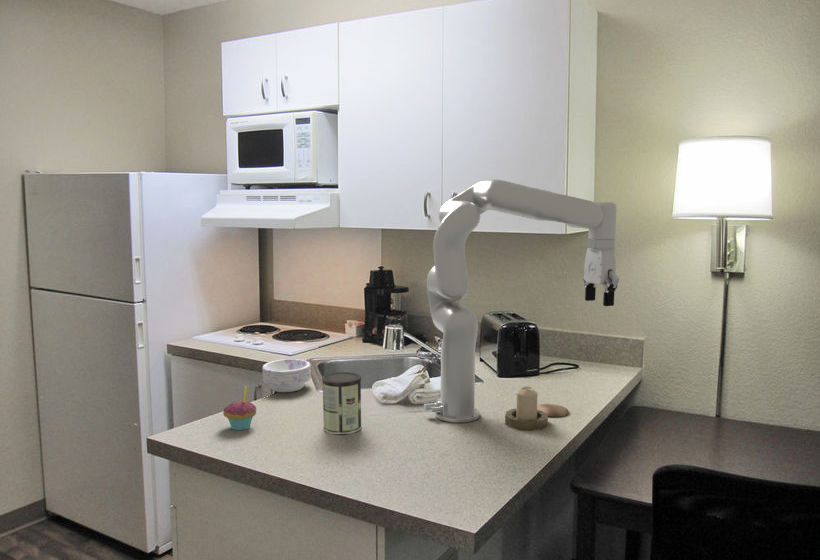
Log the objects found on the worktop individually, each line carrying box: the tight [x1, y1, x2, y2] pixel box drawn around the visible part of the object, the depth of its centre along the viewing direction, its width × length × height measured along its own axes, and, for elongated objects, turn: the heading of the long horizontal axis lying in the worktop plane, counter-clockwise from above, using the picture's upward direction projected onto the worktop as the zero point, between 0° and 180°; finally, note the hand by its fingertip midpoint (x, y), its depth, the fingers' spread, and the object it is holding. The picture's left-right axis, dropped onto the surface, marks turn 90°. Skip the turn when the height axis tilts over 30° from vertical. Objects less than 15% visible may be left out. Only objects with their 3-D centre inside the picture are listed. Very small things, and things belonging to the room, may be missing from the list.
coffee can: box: [321, 371, 362, 435], centre depth 179 cm, size 10×10×14 cm
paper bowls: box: [261, 358, 312, 393], centre depth 215 cm, size 15×15×8 cm
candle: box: [515, 386, 538, 420], centre depth 184 cm, size 6×6×10 cm
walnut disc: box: [537, 403, 569, 418], centre depth 194 cm, size 10×10×1 cm
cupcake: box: [222, 383, 257, 431], centre depth 180 cm, size 9×8×12 cm
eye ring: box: [504, 408, 549, 432], centre depth 184 cm, size 11×11×2 cm
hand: (599, 303), depth 198 cm, fingers open, 9 cm apart
